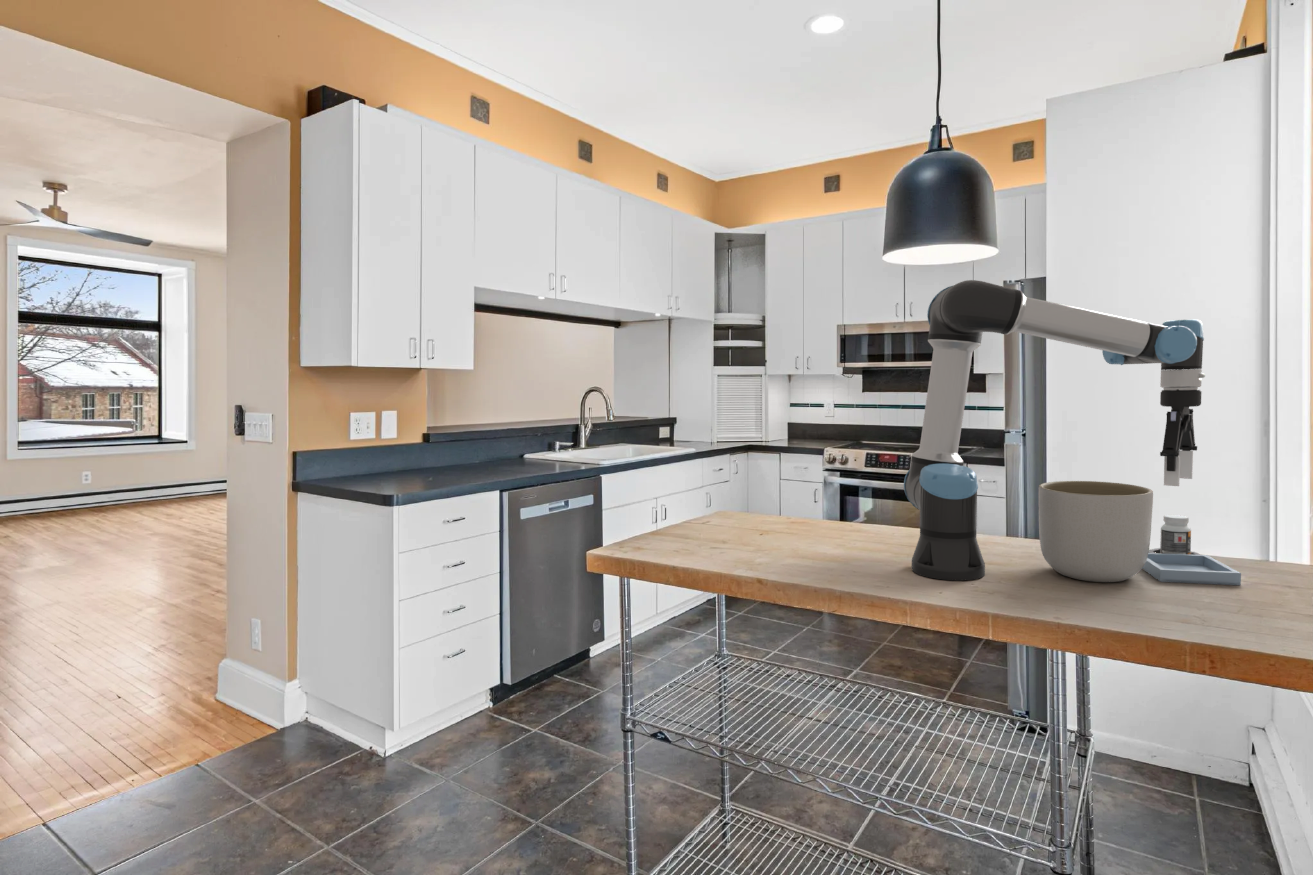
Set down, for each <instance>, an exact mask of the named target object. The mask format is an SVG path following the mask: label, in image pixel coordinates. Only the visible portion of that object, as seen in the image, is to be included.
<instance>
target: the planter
mask: <svg viewBox="0 0 1313 875" xmlns="http://www.w3.org/2000/svg"><path fill="white" fill-rule="evenodd" d="M1153 505H1154V491H1153V490H1152V489H1151V488H1148V487H1145V486H1141V485H1134V484H1129V483H1128V484H1127V483H1122V482H1121V483H1120V482H1111V481H1110V482H1108V481H1096V480H1093V481H1092V480H1059V481H1048V482H1043V483H1041V484H1039V485H1038V533H1039V544H1040V550H1041V554H1042V557H1043V558H1044V560H1045V561H1046V562H1047V564H1048V565H1049V566H1050V567H1051V568H1052V569H1053V570H1054V571H1056V572H1057V573H1058V574H1060V575H1062V576H1064V577H1067V578H1072V579H1075V580H1080V581H1086V582H1091V583H1092V582H1094V583H1118V582H1123V581H1126V580H1128V579H1131V578H1133V577H1134V576H1136V575H1137V574H1138V573H1139V572H1140V571H1142V570H1143V569H1142V568H1143V567H1144V565H1145V563H1146V560H1147V557H1148V552H1149V550H1150V547H1151V546H1150V544H1151V534H1152V520H1153V519H1152V518H1153V507H1154V506H1153Z"/></svg>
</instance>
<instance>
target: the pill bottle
mask: <svg viewBox="0 0 1313 875" xmlns="http://www.w3.org/2000/svg"><path fill="white" fill-rule="evenodd" d="M1189 519H1190V518H1189V516H1186V515H1181V514H1180V515H1179V514H1164V515H1163V521H1164V524H1162V525H1161V526H1160V544H1159V545H1160V547H1159V548H1160V553H1164V554H1191V552H1192V551H1191V547H1192V545H1191V544H1192V542H1191V541H1192V539H1191V538H1192V529H1191V527H1190V526H1189V525H1188V523H1189Z"/></svg>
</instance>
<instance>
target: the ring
mask: <svg viewBox="0 0 1313 875" xmlns="http://www.w3.org/2000/svg"><path fill="white" fill-rule="evenodd" d="M1155 552H1156V553H1160V547H1158V548H1151V549H1149V552H1148V553H1155ZM1191 555H1201V554H1200V553H1198V552H1195V551H1191Z"/></svg>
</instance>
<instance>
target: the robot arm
mask: <svg viewBox="0 0 1313 875" xmlns="http://www.w3.org/2000/svg"><path fill="white" fill-rule="evenodd" d="M926 313H927V315H926V316H927V323H928V325H929V331H928V337H927V342H928V343H929V345H930V346H931V347H932V350H933V351H932V356H931V357H932V358H931V363H930V364H931V365H930V374H929V379H928V386H927V394H926V399H925V406H924V407H925V408H924V414H923V422H922V428H921V435H920V436H921V437H920V443H919V448H918V449H917V450H916V451H915V452H913V453H912V454H911V458H910V459H911V460H910V466H909V469H908V471H907V472H906V474H905V476H904V480H903V490H904V493H905V497H906V498H907V500H908V502H910V504H912V506H913V507H915V509H917V510H919V538H918V541H917V543H916V546H915V549H914V553H913V555H912V558H911V571H912V572H913V573H914V574H916V575H920V576H923V577H926V578H931V579H936V580H943V581H971V580H977V579H980V578H983V577H984V576H985V575H986V565H985V561H984V556H983V554H982V552H981V549H980V545H979V542H978V539H977V538H978V537H977V526H978V524H977V517H978V513H977V512H978V488H979V483H978V478H977V474H976V472H975V470H973V469H972V468H971V467H968V466H965V465H964V460H963V459H962V457H961V456H960V454H959V453H958V452H959V448H960V447H959V445H960V439H961V434H962V433H961V432H962V426H963V421H964V420H963V419H964V412H965V406H966V400H967V391H968V387H969V380H970V371H971V365H972V357H973V353H974V352H975V351H976V350H977V349H978V348H979V347H981V346H982V340H983V334H984V333H996V334H1001V335H1004V336H1005V335H1006V336H1007V335H1009V334H1012V333H1013V332H1014V333H1019V334H1024V335H1029V336H1032V337H1038V338H1041V339H1042V338H1043V339H1047V340H1053V341H1057V342H1062V343H1067V344H1072V345H1077V346H1080V347H1086V348H1091V349H1095V350H1100V351H1102V356H1103V359H1104V361H1105V362H1106V363H1107V364H1108V365H1120V366H1123V365H1140V364H1141V365H1146V364H1160V382H1159V383H1160V387H1161V388H1163V389H1162V390H1161V391H1160V402H1159V403H1160V406H1162V407H1168V408H1169V407H1170V409H1171V411H1166V412H1167V413H1166V422H1165V432H1164V435H1163V436H1164V437H1163V444H1162V450H1161V451H1159V455H1160V456H1159V457H1164V459H1163V460H1164V461H1163V462H1164V464H1163V466H1164V467H1163V486H1167V487H1169V486H1170V487H1180V479H1187V480H1192V479H1193V465H1194V464H1193V463H1194V451H1196V452H1197V450H1198V445H1196V440H1195V439H1196V438H1195V428H1194V427H1195V426H1194V409H1193V408H1192V407H1199V406H1201V405H1202V391H1201V389H1199V388H1201V387H1202V379H1204V378H1205V377H1206V375H1205V373H1202V371H1203V370H1202V369H1203V354H1204V352H1203V350H1204V341H1205V338H1204V329H1203V322H1202V320H1200V319H1191V318H1190V319H1176V320H1174V319H1173V320H1166V321H1164V322H1162V324H1156V323H1152V322H1146V321H1142V320H1139V319H1133V318H1129V317H1123V316H1119V315H1113V314H1110V313H1104V312H1100V311H1096V310H1090V309H1087V308H1086V309H1085V308H1082V307H1076V306H1072V305H1066V304H1062V303H1057V302H1052V301H1047V300H1043V299H1039V298H1033V297H1028V296H1026V295H1025V294H1024V293H1023V291H1022V290H1019V289H1016V288H1015V289H1014V288H1011V287H1007V286H1003V285H1002V286H1001V285H999V284H994V283H991V282H987V281H982V280H976V279H975V280H974V279H969V280H968V279H967V280H962V281H960V282H958V283H955V284H954V285H949V286H947V287H945V288H943V289H942V290H940V291H939V292H938V293H937V294H936V295H934V297H933V298H932V300H931V301H930V303H929V306H928V309H927V312H926ZM1190 407H1191V408H1190Z"/></svg>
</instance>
